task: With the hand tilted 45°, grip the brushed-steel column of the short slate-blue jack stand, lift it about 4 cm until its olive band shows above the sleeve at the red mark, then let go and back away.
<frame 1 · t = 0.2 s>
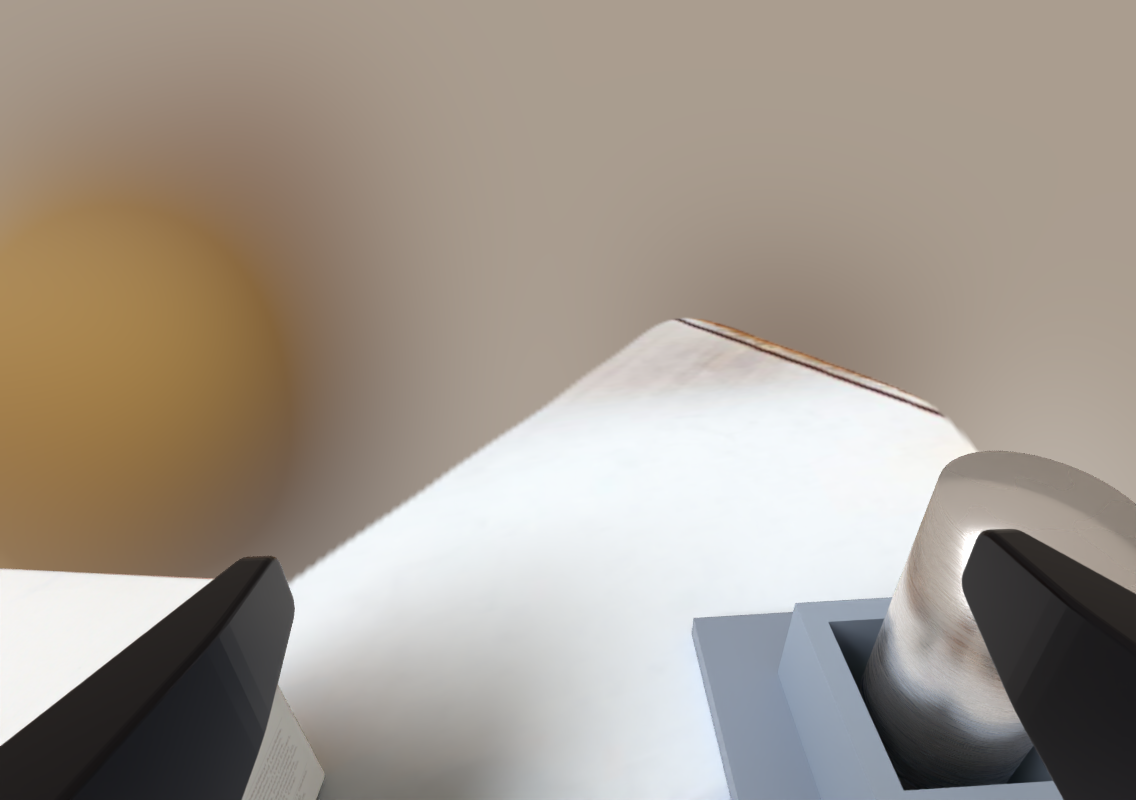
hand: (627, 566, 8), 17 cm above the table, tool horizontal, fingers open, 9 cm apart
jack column: (968, 654, 18), point 7 cm above the table, slide at 0.0 cm
jack base: (904, 775, 22), on the table
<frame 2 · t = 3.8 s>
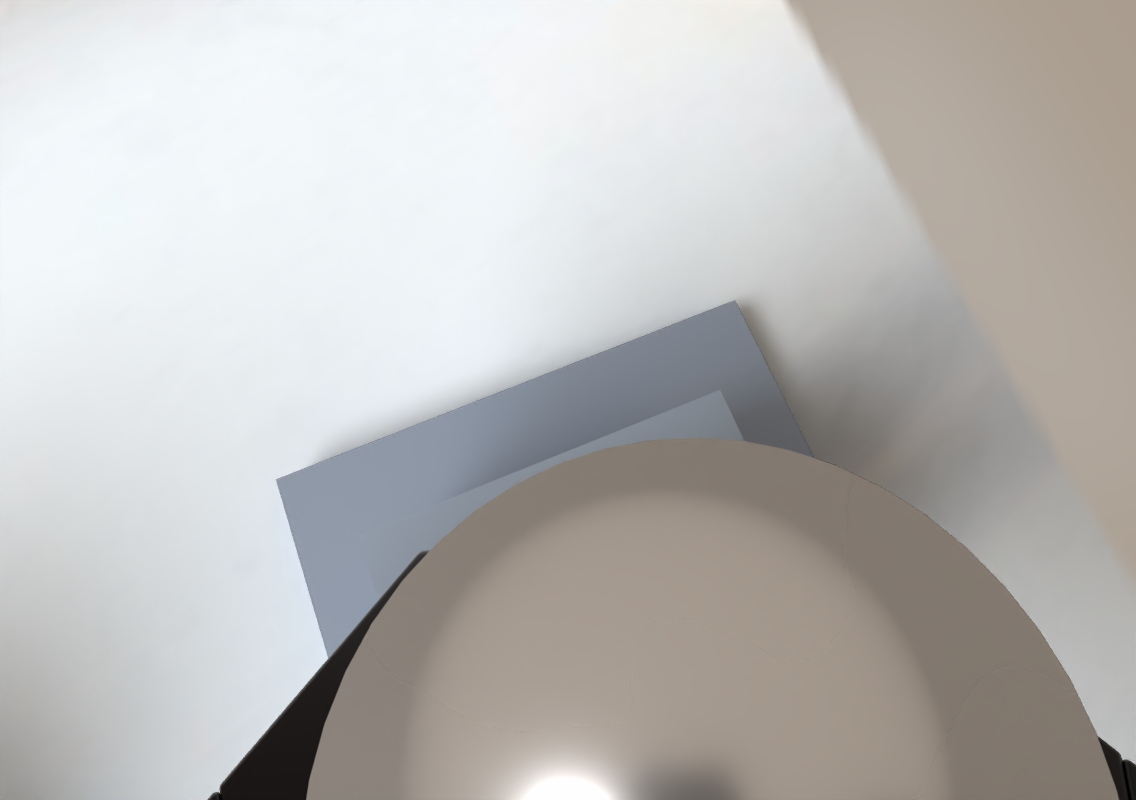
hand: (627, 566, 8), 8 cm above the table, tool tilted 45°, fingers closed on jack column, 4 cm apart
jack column: (628, 671, 9), point 7 cm above the table, slide at 0.0 cm, touching gripper
jack base: (605, 623, 15), on the table
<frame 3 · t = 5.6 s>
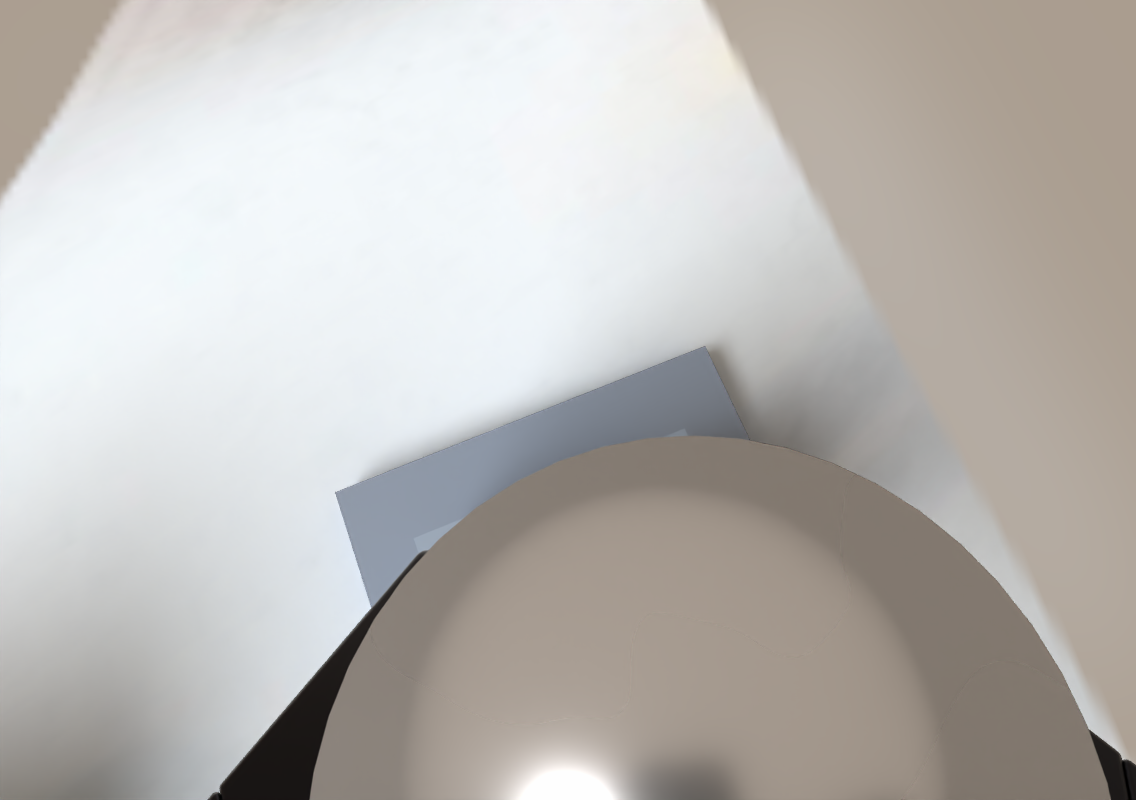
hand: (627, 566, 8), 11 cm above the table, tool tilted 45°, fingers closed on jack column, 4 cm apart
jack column: (628, 666, 9), point 11 cm above the table, slide at 3.8 cm, touching gripper
jack base: (599, 607, 19), on the table
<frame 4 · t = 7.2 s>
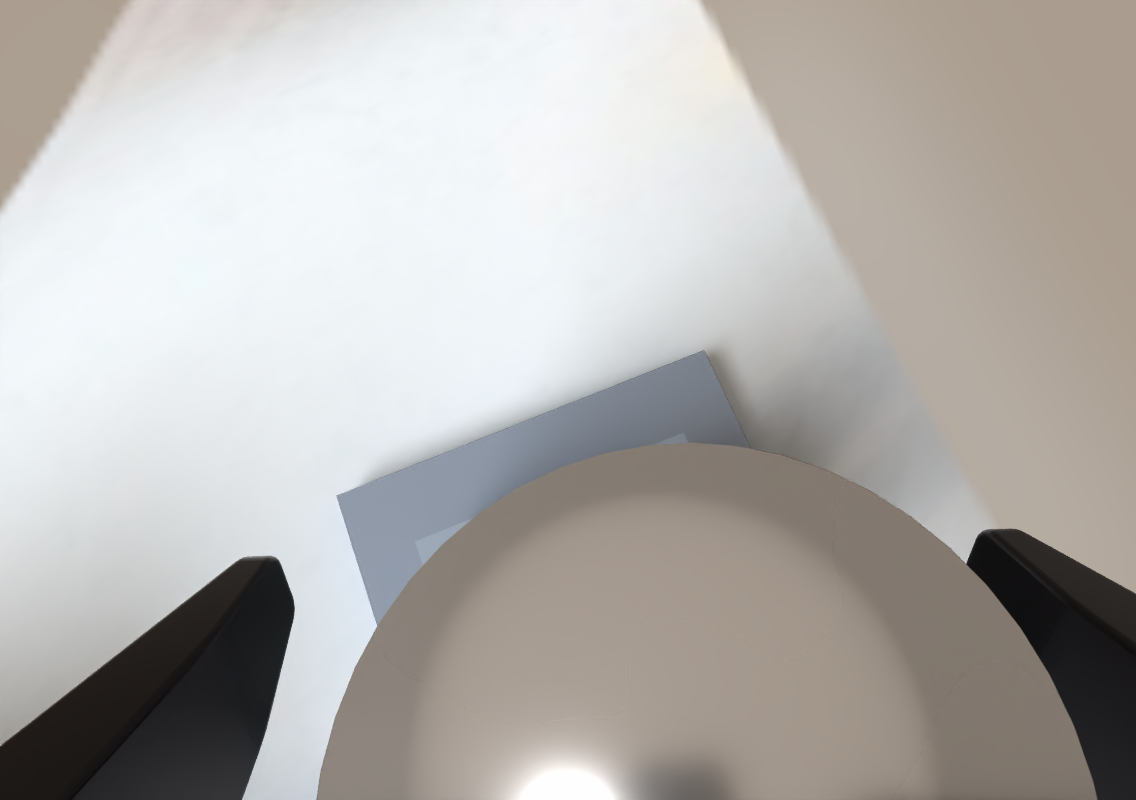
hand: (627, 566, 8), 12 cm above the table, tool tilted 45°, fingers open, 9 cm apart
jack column: (627, 669, 9), point 11 cm above the table, slide at 3.8 cm
jack base: (599, 610, 19), on the table
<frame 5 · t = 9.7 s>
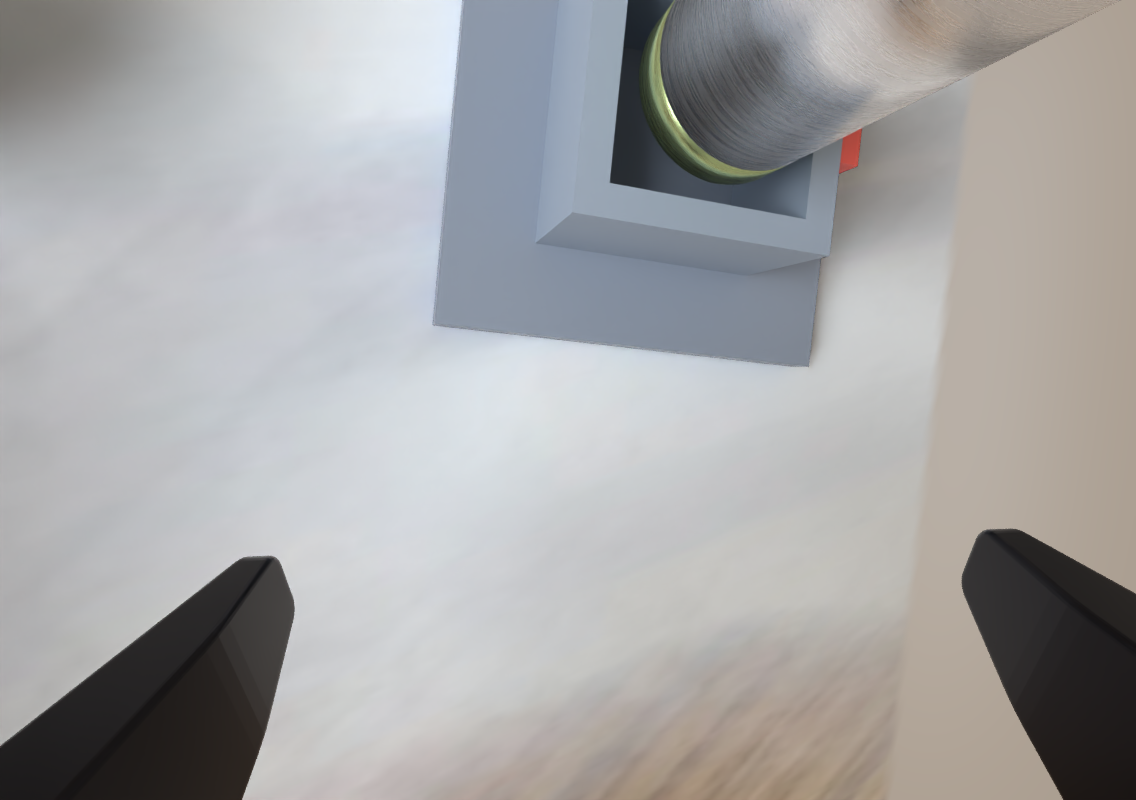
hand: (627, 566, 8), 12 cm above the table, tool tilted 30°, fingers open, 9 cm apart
jack base: (645, 155, 20), on the table
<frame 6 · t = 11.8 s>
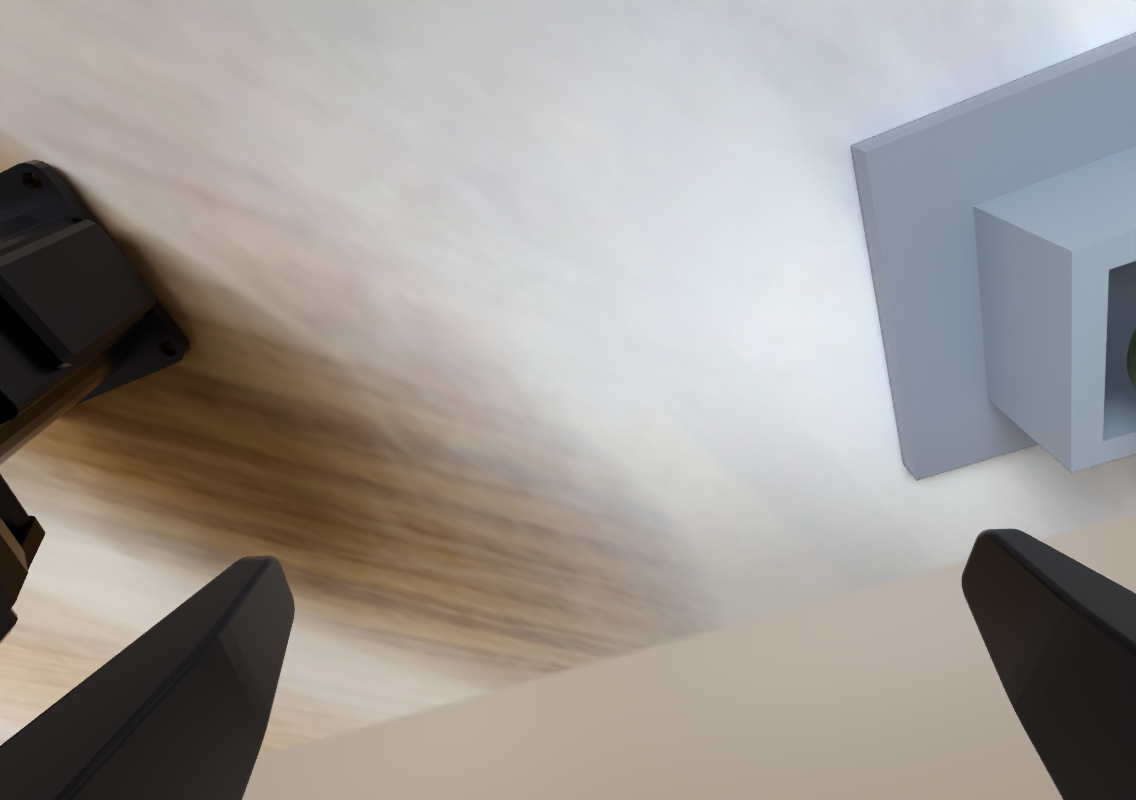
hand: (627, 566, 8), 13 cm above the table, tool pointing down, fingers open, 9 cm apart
jack base: (1077, 258, 20), on the table
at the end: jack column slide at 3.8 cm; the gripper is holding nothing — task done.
